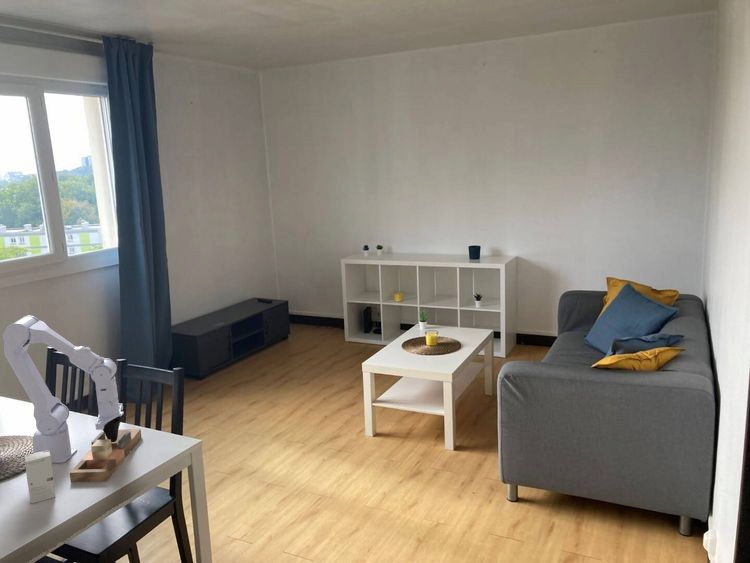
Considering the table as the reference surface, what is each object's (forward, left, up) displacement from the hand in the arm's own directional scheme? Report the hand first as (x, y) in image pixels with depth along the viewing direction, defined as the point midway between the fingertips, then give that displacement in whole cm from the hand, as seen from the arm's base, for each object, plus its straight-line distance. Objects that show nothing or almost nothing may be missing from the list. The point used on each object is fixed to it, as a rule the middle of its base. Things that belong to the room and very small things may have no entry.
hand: (112, 441), depth 183 cm
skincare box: (-9, -24, -4) cm, 26 cm away
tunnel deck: (0, -4, -4) cm, 5 cm away
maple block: (0, -8, -1) cm, 8 cm away
